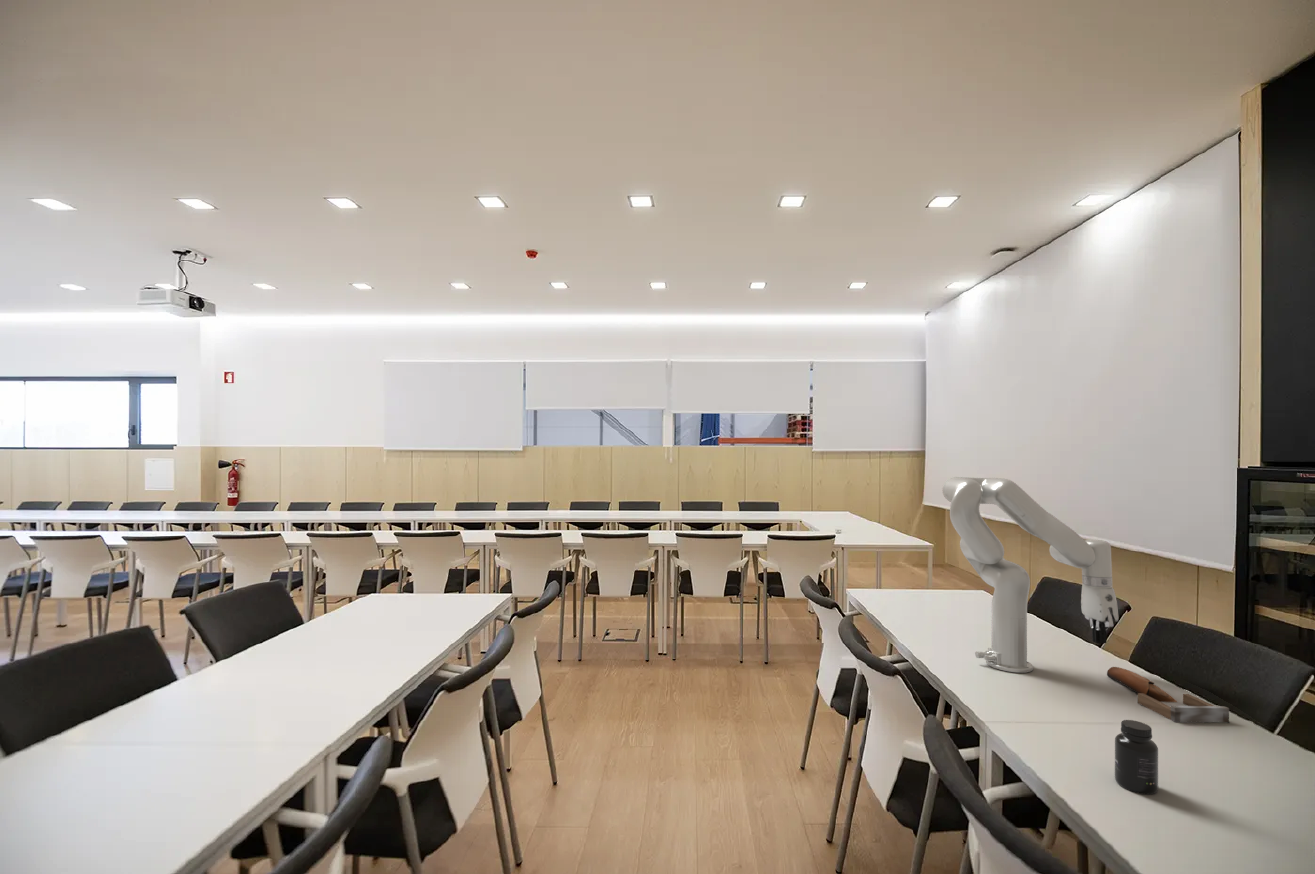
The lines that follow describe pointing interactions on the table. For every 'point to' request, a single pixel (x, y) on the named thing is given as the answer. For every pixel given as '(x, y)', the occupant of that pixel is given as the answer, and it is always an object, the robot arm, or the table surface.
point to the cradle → (1187, 709)
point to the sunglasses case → (1139, 684)
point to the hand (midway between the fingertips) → (1099, 642)
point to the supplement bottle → (1136, 758)
